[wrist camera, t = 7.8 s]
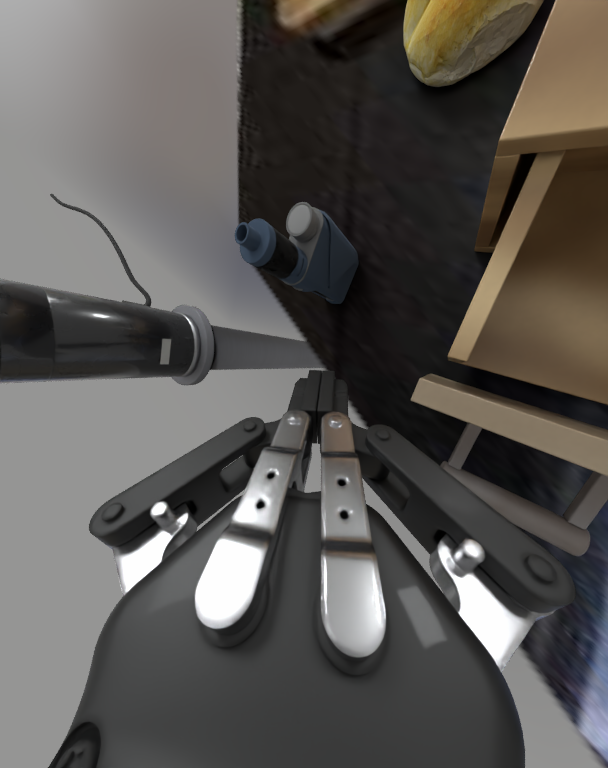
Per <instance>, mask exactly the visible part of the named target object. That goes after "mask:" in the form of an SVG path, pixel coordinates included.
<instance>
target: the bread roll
mask: <svg viewBox="0 0 608 768" xmlns="http://www.w3.org/2000/svg"><path fill="white" fill-rule="evenodd" d="M543 1H544V0H408V2H407V6H406V11H405V18H404V47H405V51H406V53H407V58H408V61H409V66H410V69H411V71H412V72H413V74H414V75H415V77H416V78H417V79H418V80H419V81H421V82H423V83H425V84H426V85H429V86H434V87H441V86H447V85H452V84H454V83H456V82H458V81H460V80H462V79H463V78H465V77H467V76H468V75H470V74H471V73H473V72H475V71H477V70H479V69H481V68H482V67H484V66H486V65H487V64H488V63H489V62H491V61H492V60H494V59H495V58H496V57H497V56H499V55H500V54H501V53H502V52H504V51H505V50H506V49H507V48H508V47H510V46H511V45H512V44H513V43H514V42H515V41H516V40H517V39H518V38H519V37H520V36H521V35H522V34H523V33H524V32H525V30H526V29H527V27H528V26H529V24H530V23H531V21H532V20H533V18H534V16H535V15H536V13H537V11H538V10H539V8H540V6H541V4H542V3H543Z"/></svg>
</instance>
